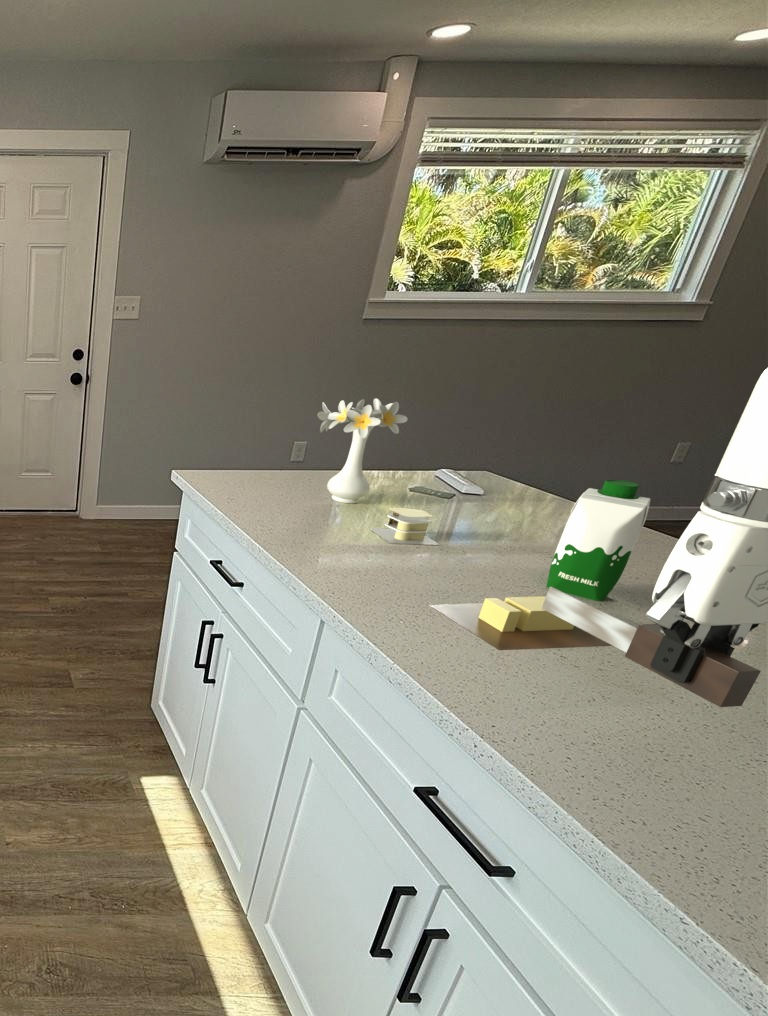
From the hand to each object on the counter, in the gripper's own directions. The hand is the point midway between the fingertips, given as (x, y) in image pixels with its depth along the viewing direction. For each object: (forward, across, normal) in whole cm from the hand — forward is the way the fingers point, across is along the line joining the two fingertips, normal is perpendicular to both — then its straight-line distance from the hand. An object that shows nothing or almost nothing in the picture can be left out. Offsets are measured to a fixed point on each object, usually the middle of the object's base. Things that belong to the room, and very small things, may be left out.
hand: (682, 673), depth 64 cm
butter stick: (+13, +17, +31) cm, 38 cm away
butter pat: (+12, +11, +31) cm, 35 cm away
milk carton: (+15, +35, +42) cm, 57 cm away
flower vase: (+14, +27, +96) cm, 101 cm away
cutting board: (+14, +15, +31) cm, 37 cm away
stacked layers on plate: (+14, +25, +71) cm, 77 cm away
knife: (+1, 0, +5) cm, 6 cm away
